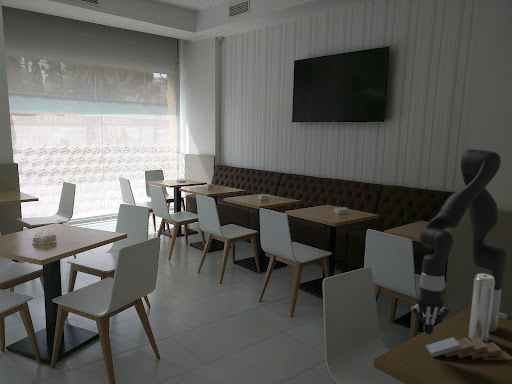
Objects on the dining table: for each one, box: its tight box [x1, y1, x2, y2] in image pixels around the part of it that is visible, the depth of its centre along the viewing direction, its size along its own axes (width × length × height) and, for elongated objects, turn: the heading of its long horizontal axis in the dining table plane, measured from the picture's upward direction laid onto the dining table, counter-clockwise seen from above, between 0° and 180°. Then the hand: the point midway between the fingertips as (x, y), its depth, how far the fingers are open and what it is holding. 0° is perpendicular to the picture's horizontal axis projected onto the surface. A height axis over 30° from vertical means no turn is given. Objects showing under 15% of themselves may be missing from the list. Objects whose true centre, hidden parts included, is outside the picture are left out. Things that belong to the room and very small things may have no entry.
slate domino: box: [425, 336, 461, 358], centre depth 137 cm, size 2×5×10 cm
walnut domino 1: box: [443, 337, 475, 359], centre depth 137 cm, size 2×5×10 cm
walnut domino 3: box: [469, 341, 503, 360], centre depth 137 cm, size 2×5×10 cm
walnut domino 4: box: [481, 350, 512, 361], centre depth 137 cm, size 2×5×10 cm
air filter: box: [468, 273, 495, 344], centre depth 146 cm, size 6×6×25 cm
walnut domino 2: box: [455, 339, 488, 359], centre depth 137 cm, size 2×5×10 cm
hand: (427, 333), depth 136 cm, fingers closed
